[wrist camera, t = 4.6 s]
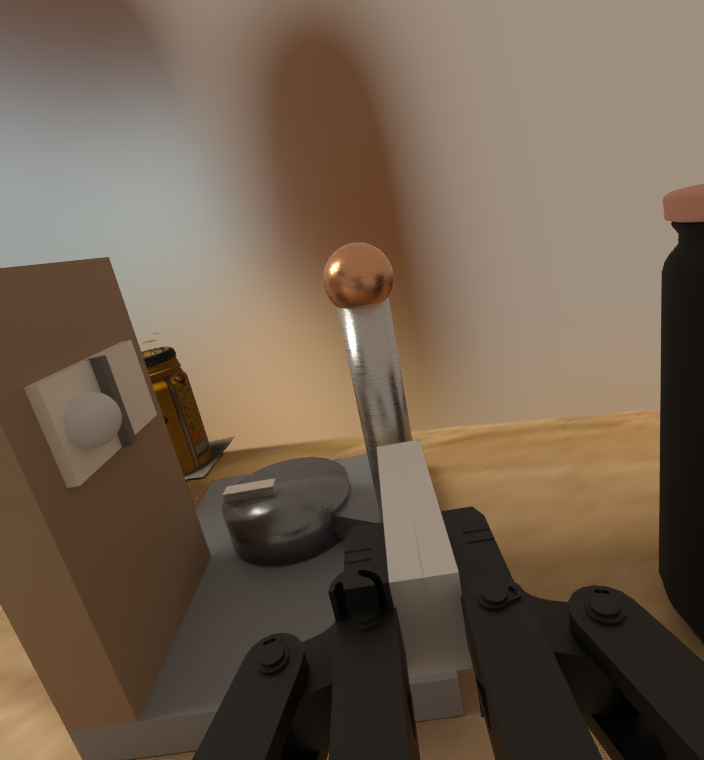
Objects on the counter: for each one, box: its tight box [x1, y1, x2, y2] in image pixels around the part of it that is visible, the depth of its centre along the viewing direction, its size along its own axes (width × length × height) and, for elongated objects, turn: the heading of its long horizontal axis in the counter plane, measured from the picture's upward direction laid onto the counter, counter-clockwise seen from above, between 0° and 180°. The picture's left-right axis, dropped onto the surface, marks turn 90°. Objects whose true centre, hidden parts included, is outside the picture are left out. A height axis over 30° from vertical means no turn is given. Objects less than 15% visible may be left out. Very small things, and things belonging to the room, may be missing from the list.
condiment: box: [141, 347, 234, 480], centre depth 46 cm, size 7×8×12 cm
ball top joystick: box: [222, 243, 412, 566], centre depth 26 cm, size 12×10×16 cm
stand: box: [0, 257, 464, 760], centre depth 26 cm, size 16×20×20 cm
